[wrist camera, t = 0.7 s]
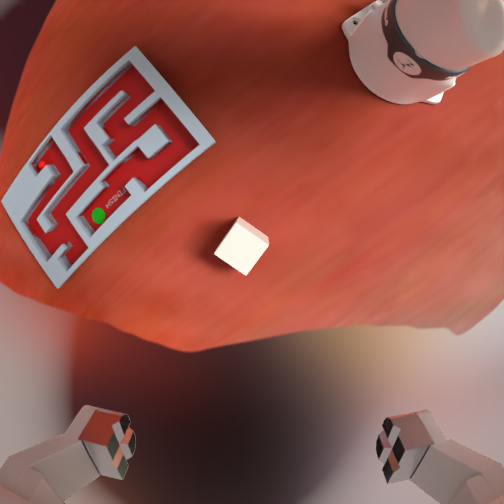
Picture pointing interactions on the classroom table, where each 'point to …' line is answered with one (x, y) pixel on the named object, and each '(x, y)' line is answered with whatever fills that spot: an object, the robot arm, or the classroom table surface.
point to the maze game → (102, 164)
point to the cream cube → (242, 246)
